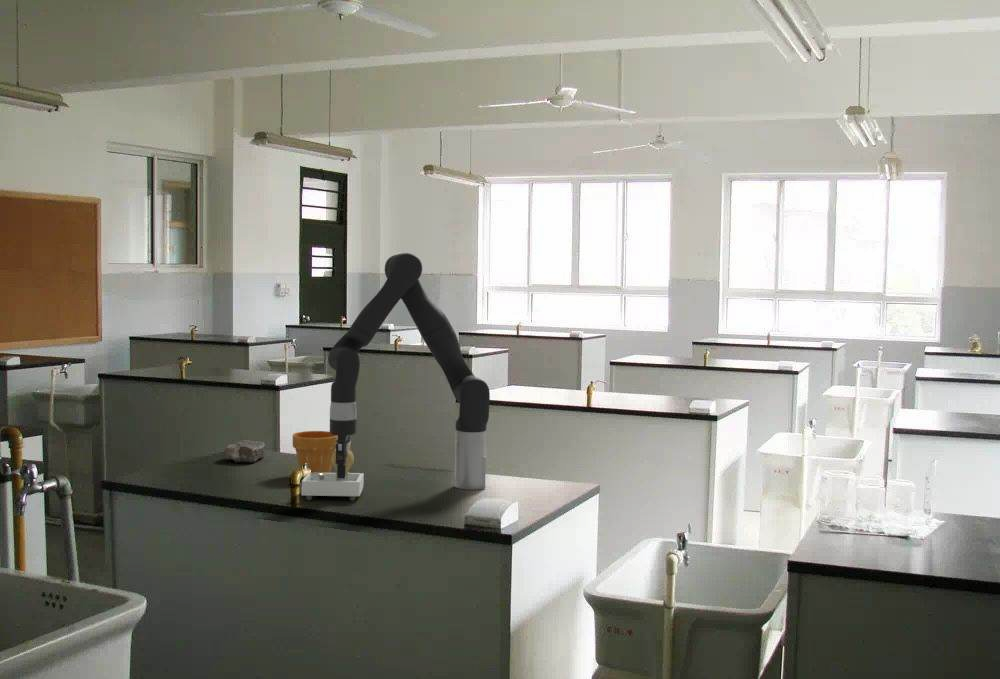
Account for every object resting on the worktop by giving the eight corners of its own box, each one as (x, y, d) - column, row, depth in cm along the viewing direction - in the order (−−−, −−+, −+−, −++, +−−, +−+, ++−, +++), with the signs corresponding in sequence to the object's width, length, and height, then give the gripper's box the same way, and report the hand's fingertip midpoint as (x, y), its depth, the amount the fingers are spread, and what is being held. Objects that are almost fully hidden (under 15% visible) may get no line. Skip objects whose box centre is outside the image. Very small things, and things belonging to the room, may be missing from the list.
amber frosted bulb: (349, 486, 281) (349, 450, 280) (327, 484, 282) (327, 449, 281) (356, 481, 287) (357, 446, 286) (335, 480, 288) (336, 445, 288)
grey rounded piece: (325, 486, 286) (325, 472, 286) (323, 489, 282) (323, 475, 282) (311, 485, 286) (311, 472, 286) (309, 488, 282) (309, 474, 282)
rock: (240, 455, 344) (217, 464, 329) (239, 437, 343) (216, 445, 329) (273, 457, 341) (252, 466, 326) (273, 438, 340) (251, 446, 325)
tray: (363, 492, 291) (363, 473, 291) (359, 501, 279) (359, 482, 279) (308, 491, 290) (308, 472, 290) (301, 500, 278) (301, 481, 278)
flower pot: (310, 469, 322) (310, 429, 321) (347, 474, 315) (347, 433, 315) (282, 477, 309) (283, 435, 308) (320, 482, 303) (320, 439, 302)
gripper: (353, 421, 276) (353, 481, 277) (359, 413, 291) (358, 470, 292) (326, 421, 276) (326, 481, 277) (333, 413, 290) (332, 470, 291)
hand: (342, 475), depth 284 cm, fingers closed on amber frosted bulb, 6 cm apart
